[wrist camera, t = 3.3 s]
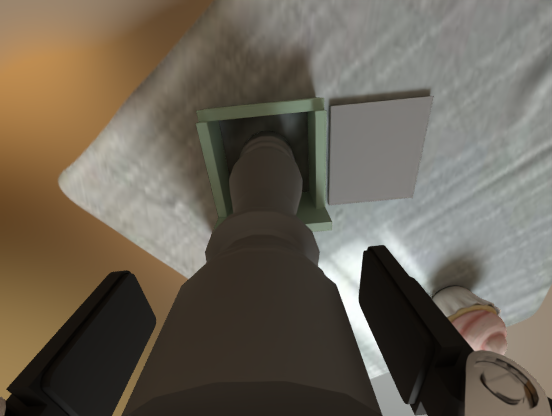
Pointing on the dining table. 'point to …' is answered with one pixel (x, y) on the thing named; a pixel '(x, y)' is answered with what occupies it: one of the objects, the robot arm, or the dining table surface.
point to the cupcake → (473, 319)
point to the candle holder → (257, 314)
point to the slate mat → (376, 149)
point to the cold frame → (314, 199)
